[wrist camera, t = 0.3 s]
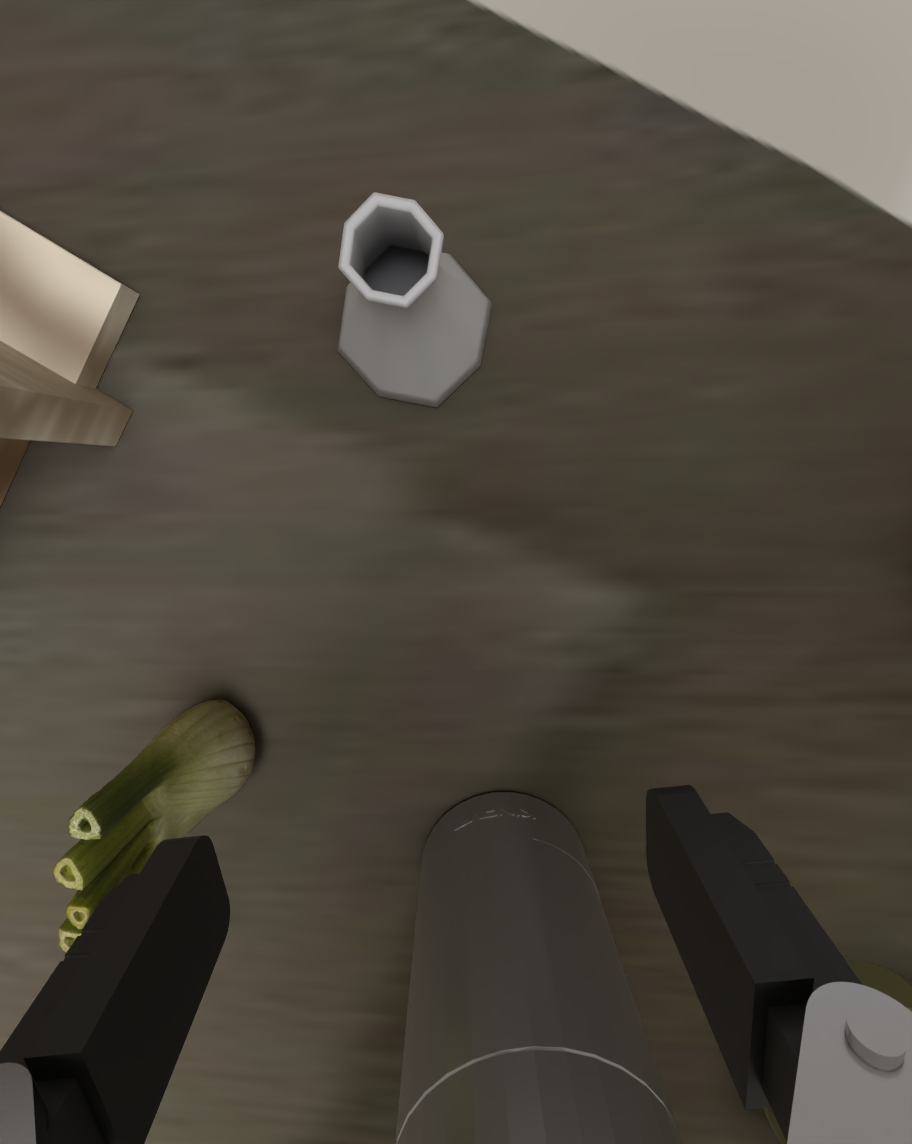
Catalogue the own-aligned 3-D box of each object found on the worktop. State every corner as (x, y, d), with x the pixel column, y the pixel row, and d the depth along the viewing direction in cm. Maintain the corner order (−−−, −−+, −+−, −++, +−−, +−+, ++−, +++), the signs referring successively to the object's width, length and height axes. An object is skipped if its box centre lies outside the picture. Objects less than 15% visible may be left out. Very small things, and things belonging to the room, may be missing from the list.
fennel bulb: (212, 670, 30) (56, 798, 19) (288, 723, 31) (184, 880, 19) (154, 751, 31) (-31, 922, 19) (229, 801, 32) (94, 997, 20)
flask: (313, 359, 28) (233, 299, 18) (382, 216, 26) (338, 67, 17) (444, 433, 28) (437, 415, 18) (517, 296, 27) (552, 198, 17)
